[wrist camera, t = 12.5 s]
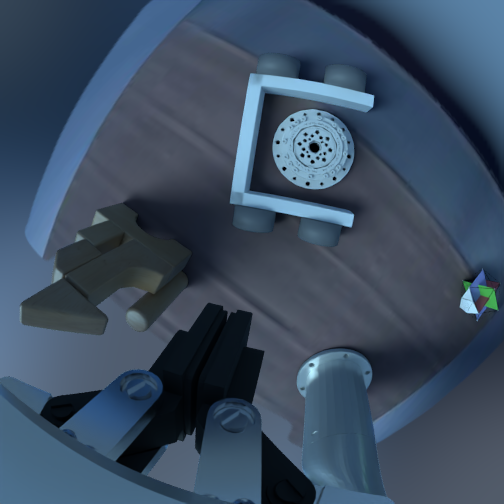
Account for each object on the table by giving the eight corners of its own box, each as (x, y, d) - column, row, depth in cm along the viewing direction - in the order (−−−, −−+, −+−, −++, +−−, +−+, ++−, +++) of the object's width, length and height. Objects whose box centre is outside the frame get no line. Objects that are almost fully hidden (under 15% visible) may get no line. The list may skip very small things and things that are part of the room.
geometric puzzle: (496, 256, 29) (497, 290, 25) (503, 290, 30) (502, 326, 26) (458, 266, 35) (452, 300, 31) (467, 298, 36) (461, 333, 32)
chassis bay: (342, 240, 35) (348, 251, 31) (233, 218, 37) (223, 226, 32) (369, 84, 29) (379, 73, 24) (258, 65, 30) (251, 51, 26)
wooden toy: (108, 237, 41) (-17, 300, 18) (122, 202, 39) (-19, 249, 16) (183, 292, 42) (83, 407, 18) (203, 258, 39) (92, 370, 16)
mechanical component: (321, 97, 31) (257, 140, 34) (323, 88, 26) (251, 136, 29) (367, 161, 32) (303, 203, 35) (375, 161, 28) (304, 208, 31)
